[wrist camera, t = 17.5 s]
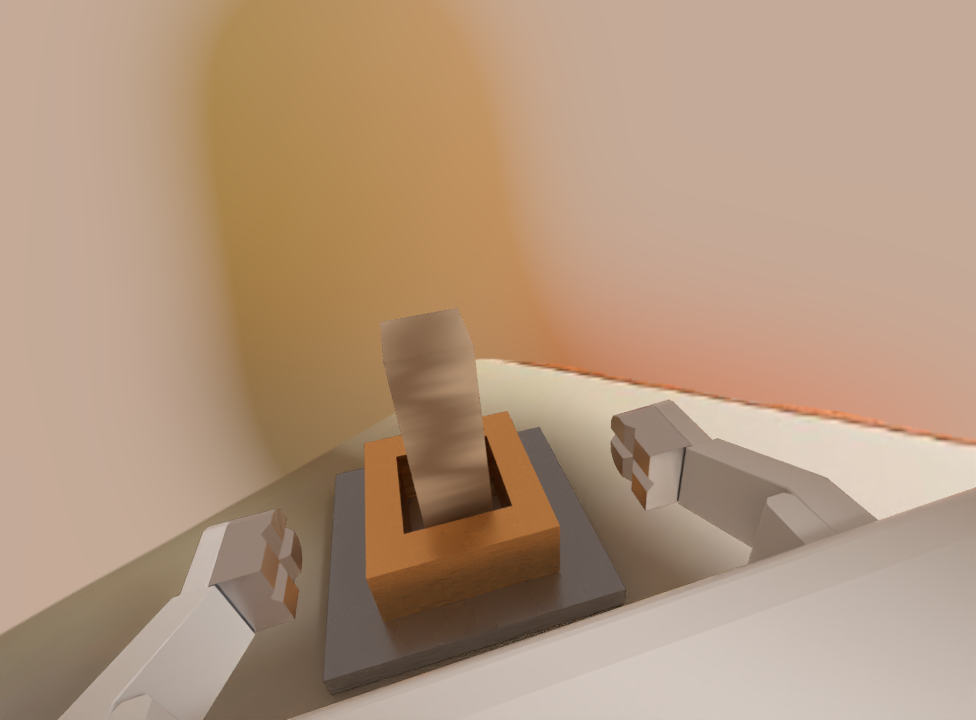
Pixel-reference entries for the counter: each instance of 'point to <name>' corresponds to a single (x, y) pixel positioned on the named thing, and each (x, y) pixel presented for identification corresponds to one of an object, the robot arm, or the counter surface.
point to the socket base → (456, 561)
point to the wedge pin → (439, 413)
